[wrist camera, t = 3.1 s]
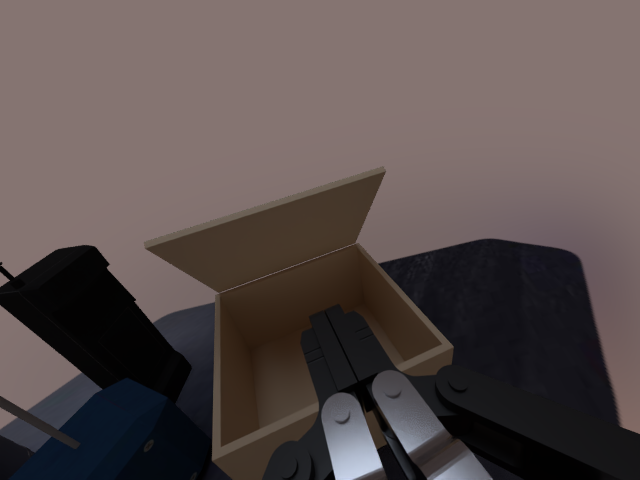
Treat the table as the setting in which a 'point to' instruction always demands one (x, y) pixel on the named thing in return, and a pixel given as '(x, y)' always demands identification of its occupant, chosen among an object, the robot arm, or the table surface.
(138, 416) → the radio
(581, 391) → the table surface
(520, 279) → the table surface
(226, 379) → the kraft carton
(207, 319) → the table surface
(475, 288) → the table surface
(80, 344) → the portable radio
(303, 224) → the carton flap
